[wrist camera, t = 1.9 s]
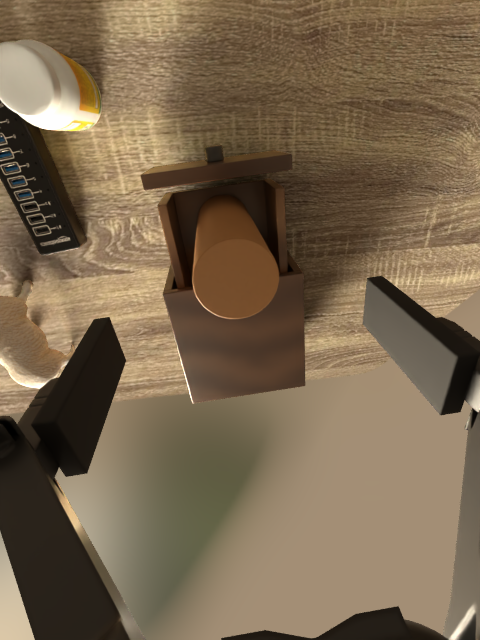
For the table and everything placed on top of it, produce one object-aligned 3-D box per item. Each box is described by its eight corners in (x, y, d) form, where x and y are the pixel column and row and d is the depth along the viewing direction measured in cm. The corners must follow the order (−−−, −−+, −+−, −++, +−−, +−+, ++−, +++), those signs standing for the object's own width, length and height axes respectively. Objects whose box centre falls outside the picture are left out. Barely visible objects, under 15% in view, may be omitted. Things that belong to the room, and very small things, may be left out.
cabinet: (171, 260, 37) (162, 294, 30) (283, 244, 38) (303, 273, 30) (194, 357, 45) (192, 403, 37) (287, 342, 45) (305, 386, 38)
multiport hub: (20, 84, 28) (6, 80, 26) (88, 242, 35) (81, 248, 33) (-29, 94, 28) (-46, 91, 26) (49, 249, 35) (40, 256, 33)
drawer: (149, 153, 31) (135, 158, 25) (274, 136, 31) (291, 136, 25) (181, 288, 38) (177, 318, 32) (281, 273, 39) (296, 300, 32)
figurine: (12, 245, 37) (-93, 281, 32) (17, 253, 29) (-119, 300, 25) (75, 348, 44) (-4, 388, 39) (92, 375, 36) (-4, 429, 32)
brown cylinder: (192, 198, 32) (183, 245, 19) (246, 191, 32) (277, 232, 19) (202, 250, 35) (201, 324, 21) (251, 243, 35) (281, 312, 22)
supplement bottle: (86, 144, 31) (43, 147, 22) (30, 100, 29) (-40, 86, 20) (114, 93, 29) (79, 76, 21) (57, 42, 27) (-8, 1, 19)
